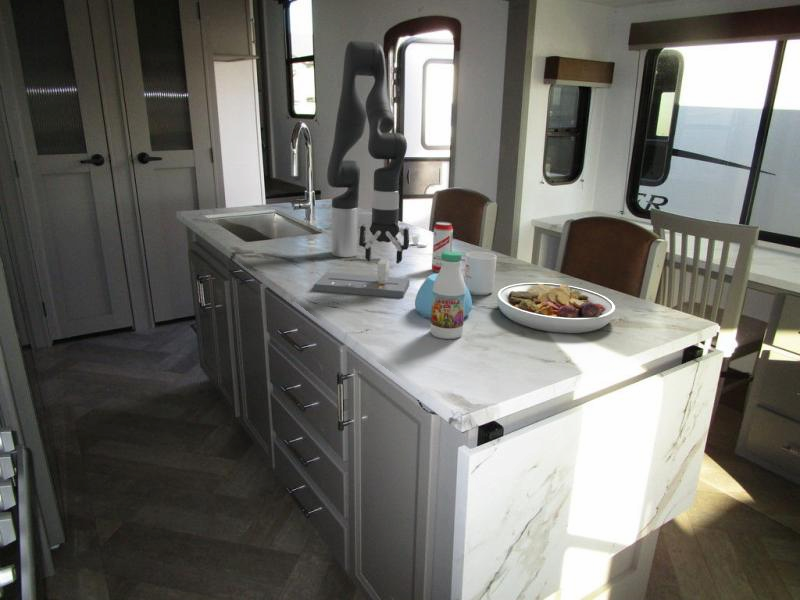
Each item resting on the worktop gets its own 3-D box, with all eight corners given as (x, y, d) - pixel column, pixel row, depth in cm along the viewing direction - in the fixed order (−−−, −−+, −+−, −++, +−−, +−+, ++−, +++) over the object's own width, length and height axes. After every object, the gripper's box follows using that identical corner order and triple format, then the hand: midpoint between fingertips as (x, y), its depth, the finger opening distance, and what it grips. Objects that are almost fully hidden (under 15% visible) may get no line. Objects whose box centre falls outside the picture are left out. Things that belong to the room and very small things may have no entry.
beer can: (449, 273, 188) (452, 225, 183) (430, 272, 189) (432, 224, 184) (451, 269, 193) (454, 222, 188) (432, 267, 195) (435, 220, 189)
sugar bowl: (428, 300, 161) (431, 260, 157) (479, 310, 154) (482, 269, 151) (404, 315, 148) (406, 272, 144) (458, 327, 142) (461, 282, 138)
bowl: (473, 307, 157) (475, 279, 155) (554, 294, 171) (557, 268, 169) (550, 346, 133) (554, 314, 130) (637, 327, 147) (642, 298, 144)
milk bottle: (428, 327, 140) (432, 248, 134) (459, 328, 141) (465, 248, 134) (432, 340, 133) (437, 256, 126) (465, 340, 133) (471, 256, 127)
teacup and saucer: (429, 248, 223) (430, 238, 221) (409, 249, 221) (410, 238, 219) (423, 243, 231) (423, 233, 229) (404, 244, 229) (404, 234, 227)
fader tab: (381, 278, 171) (381, 258, 169) (388, 279, 170) (389, 259, 168) (377, 284, 165) (377, 263, 163) (385, 284, 165) (386, 264, 163)
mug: (499, 294, 168) (502, 257, 165) (473, 297, 165) (476, 259, 161) (476, 283, 179) (479, 248, 175) (452, 285, 175) (454, 250, 171)
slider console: (326, 278, 177) (326, 271, 176) (409, 285, 174) (409, 278, 173) (314, 290, 165) (314, 283, 164) (403, 298, 162) (403, 290, 161)
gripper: (412, 205, 163) (409, 260, 169) (363, 202, 165) (362, 256, 171) (408, 210, 156) (405, 267, 162) (357, 206, 158) (356, 263, 164)
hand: (383, 261), depth 166 cm, fingers open, 8 cm apart
